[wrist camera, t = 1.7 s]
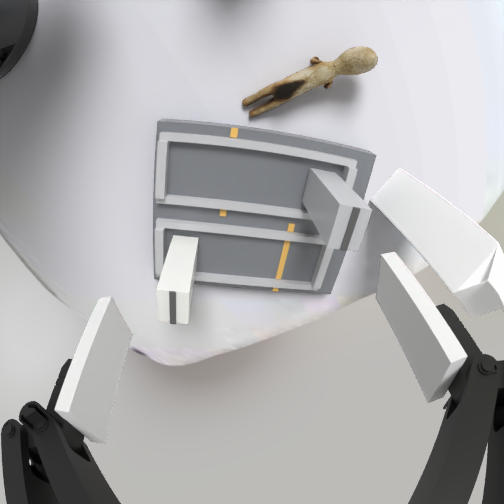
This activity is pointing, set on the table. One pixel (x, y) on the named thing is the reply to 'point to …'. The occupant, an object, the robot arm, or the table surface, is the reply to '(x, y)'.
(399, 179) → the milk
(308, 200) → the fader
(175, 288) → the block
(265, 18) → the table surface
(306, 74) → the figurine
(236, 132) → the grey flat tray
